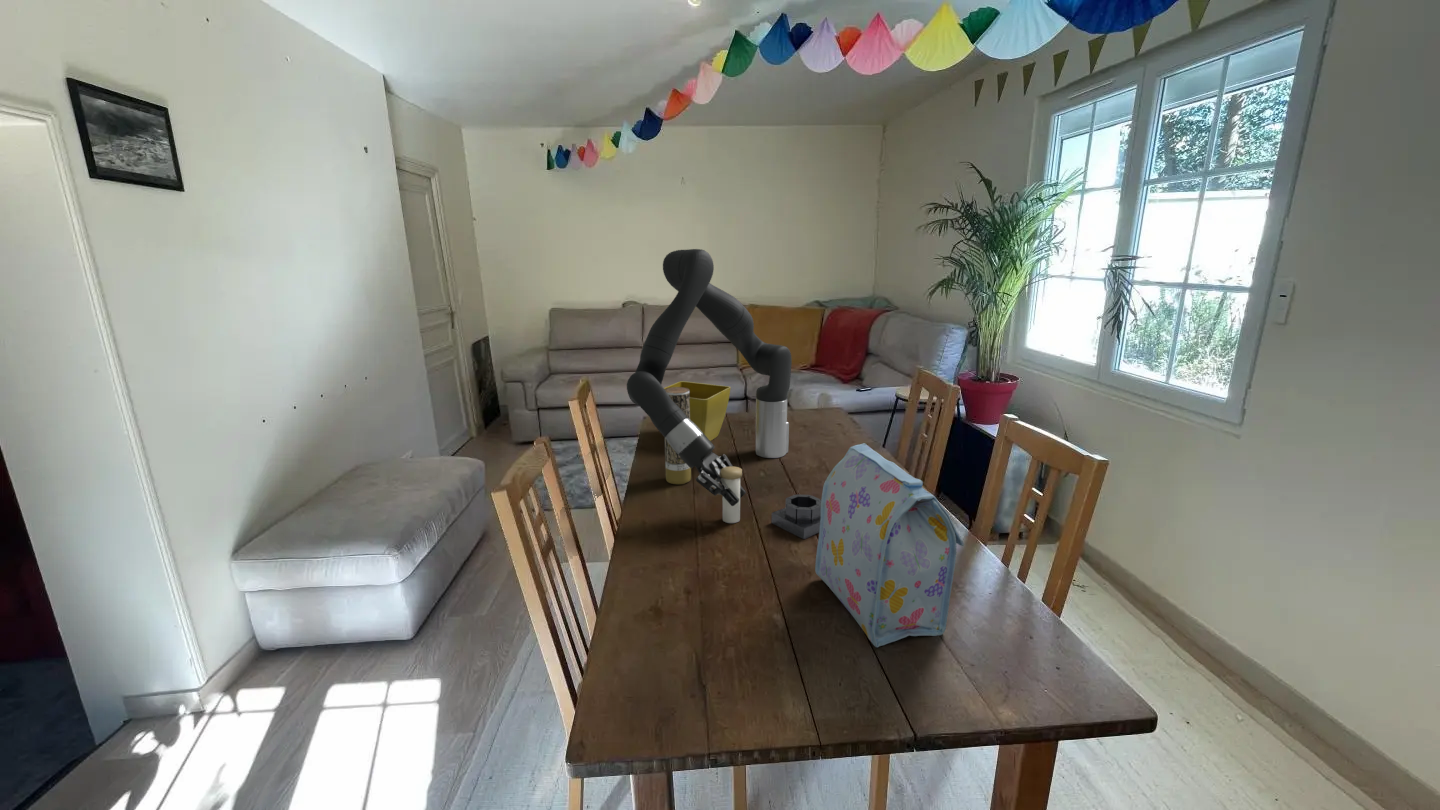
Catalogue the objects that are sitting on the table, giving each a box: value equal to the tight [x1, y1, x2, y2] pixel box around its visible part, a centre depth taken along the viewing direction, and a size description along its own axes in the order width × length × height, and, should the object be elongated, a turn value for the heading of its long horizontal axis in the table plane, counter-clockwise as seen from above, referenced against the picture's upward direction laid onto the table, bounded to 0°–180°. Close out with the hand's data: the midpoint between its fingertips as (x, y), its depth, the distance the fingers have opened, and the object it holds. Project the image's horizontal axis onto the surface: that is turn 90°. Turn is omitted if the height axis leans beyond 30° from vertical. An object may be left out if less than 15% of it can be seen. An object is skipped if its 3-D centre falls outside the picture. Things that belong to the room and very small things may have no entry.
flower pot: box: [663, 380, 732, 442], centre depth 189 cm, size 19×19×17 cm
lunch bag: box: [814, 442, 965, 648], centre depth 99 cm, size 22×17×26 cm
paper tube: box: [664, 387, 692, 485], centre depth 154 cm, size 7×7×25 cm
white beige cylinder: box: [721, 465, 743, 524], centre depth 133 cm, size 5×5×12 cm
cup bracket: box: [771, 494, 822, 540], centre depth 131 cm, size 10×10×6 cm
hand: (739, 499), depth 132 cm, fingers closed on white beige cylinder, 4 cm apart
